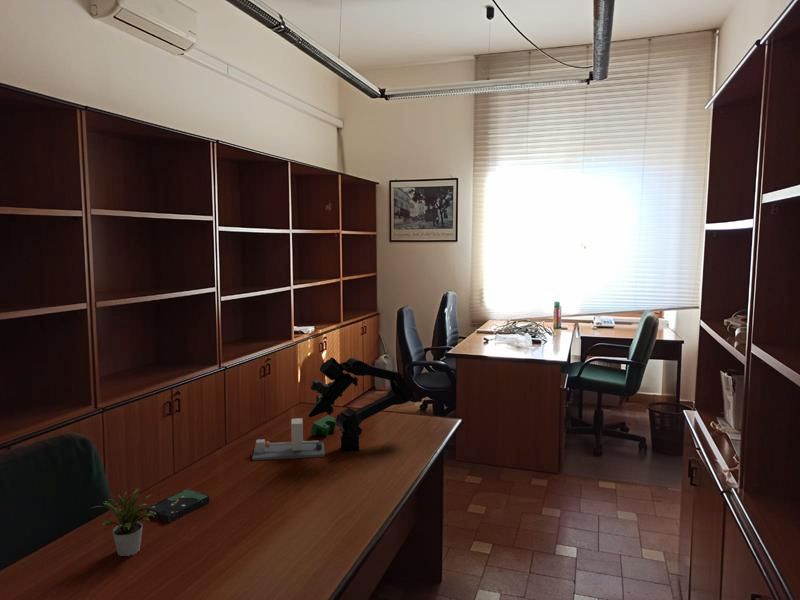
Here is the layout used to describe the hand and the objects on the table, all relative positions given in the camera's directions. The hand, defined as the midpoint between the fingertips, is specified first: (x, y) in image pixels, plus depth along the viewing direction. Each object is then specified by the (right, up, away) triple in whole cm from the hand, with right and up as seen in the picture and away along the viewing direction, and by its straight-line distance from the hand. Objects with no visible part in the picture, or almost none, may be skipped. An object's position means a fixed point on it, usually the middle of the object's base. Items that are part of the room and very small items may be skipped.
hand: (309, 416), depth 216 cm
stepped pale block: (-5, -12, +1) cm, 13 cm away
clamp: (+3, -12, +21) cm, 24 cm away
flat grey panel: (-7, -14, 0) cm, 16 cm away
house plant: (-37, -22, -68) cm, 80 cm away
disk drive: (-32, -19, -43) cm, 57 cm away
